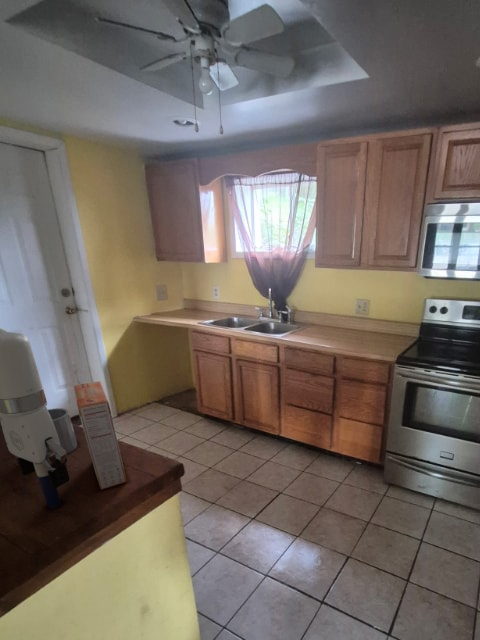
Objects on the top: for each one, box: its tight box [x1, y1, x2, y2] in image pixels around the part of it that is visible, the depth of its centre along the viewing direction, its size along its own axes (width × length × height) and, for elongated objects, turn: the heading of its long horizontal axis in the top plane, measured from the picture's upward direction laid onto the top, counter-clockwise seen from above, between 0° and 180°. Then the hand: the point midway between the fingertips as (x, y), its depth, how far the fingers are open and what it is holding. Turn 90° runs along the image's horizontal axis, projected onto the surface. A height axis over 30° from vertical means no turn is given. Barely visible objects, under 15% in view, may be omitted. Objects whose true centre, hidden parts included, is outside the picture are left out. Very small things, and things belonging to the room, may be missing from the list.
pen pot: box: [46, 407, 78, 458], centre depth 97 cm, size 8×8×10 cm
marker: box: [33, 461, 62, 510], centre depth 76 cm, size 2×2×11 cm
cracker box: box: [73, 380, 128, 490], centre depth 85 cm, size 14×6×21 cm, turn 33°
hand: (46, 477), depth 75 cm, fingers open, 9 cm apart
